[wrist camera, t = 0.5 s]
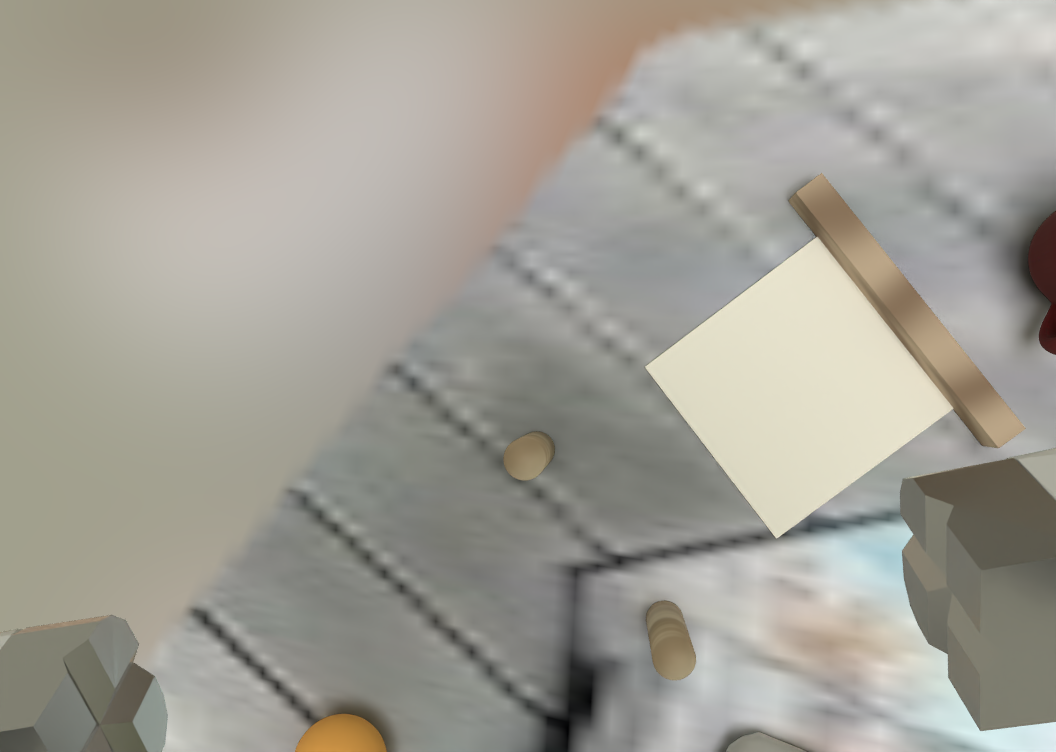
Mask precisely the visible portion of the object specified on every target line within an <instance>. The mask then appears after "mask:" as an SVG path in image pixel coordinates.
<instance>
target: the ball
mask: <svg viewBox="0 0 1056 752" xmlns="http://www.w3.org/2000/svg"><path fill="white" fill-rule="evenodd" d="M295 752H387V750H386V746H385V743H384V741H383V738H382V736H381V735H380V733H379V732H378V730H377V729H376V728H375V727H374V726H373V725H372V724H371V723H369V722H368V721H367V720H365V719H363V718H361V717H358V716H355V715H351V714H336V715H332V716H328V717H326V718H324V719H322V720H320V721H318V722H316V723H315V724H314V725H313V726H311V727H310V728H309V729H308V730H307V731H306V732H305V734H304V735H303V737H302V738H301V739H300V741H299V743H298V745H297V747H296V750H295Z"/></svg>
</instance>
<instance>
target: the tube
mask: <svg viewBox="0 0 1056 752" xmlns="http://www.w3.org/2000/svg"><path fill="white" fill-rule="evenodd" d="M726 752H807V751H805V750H802V749H800V748H797V747H795V746H792V745H790V744H787V743H785V742H782V741H780V740H778V739H775V738H773V737H770V736H768V735H765V734H763V733H760V732H757V733H753V734H749V735H745V736H742V737H740V738H739V739H737V740H736V741H734V742H733V743H732V744H730V745H729V746H728V749H727V751H726Z"/></svg>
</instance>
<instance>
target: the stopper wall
mask: <svg viewBox="0 0 1056 752" xmlns="http://www.w3.org/2000/svg"><path fill="white" fill-rule="evenodd" d="M789 203H790V204H791V205H792V206H793V208H794V209H795V210H796V212H797V213H798V214H799V215H800V217H801V218H802V219H803V220H804V222H805V223H806V224H807V225H808V227H809V228H810V229H811V230H812V232H813V233H814V234H815V235H816V237H818V238H819V239H820V240H821V242H822V243H823V244H824V245H825V247H826V248H827V249H828V250H829V252H830V253H831V254H832V256H833V257H834V258H835V259H836V261H837V262H838V263H839V264H840V266H841V267H842V268H843V269H844V271H845V272H846V273H847V274H848V276H849V277H850V278H851V279H852V281H853V282H854V283H855V285H856V286H857V287H858V288H859V290H860V291H861V292H862V293H863V295H864V296H865V297H866V298H867V300H868V301H869V302H870V303H871V305H872V306H873V307H874V308H875V310H876V311H877V312H878V314H879V315H880V316H881V317H882V319H883V320H884V321H885V322H886V324H887V325H888V326H889V327H890V329H891V330H892V331H893V332H894V334H895V335H896V336H897V337H898V339H899V340H900V341H901V343H902V344H903V345H904V346H905V348H906V349H907V350H908V351H909V353H910V354H911V355H912V356H913V358H914V359H915V360H916V361H917V363H918V364H919V365H920V367H921V368H922V369H923V370H924V372H925V373H926V374H927V375H928V377H929V378H930V379H931V380H932V382H933V383H934V384H935V385H936V387H937V388H938V389H939V390H940V392H941V393H942V394H943V396H944V397H945V398H946V399H947V401H948V402H949V403H950V404H951V406H952V407H953V408H954V409H953V410H954V411H955V412H956V413H957V415H958V416H959V417H960V418H961V420H962V421H963V422H964V423H965V425H966V426H967V427H968V428H969V430H970V431H971V432H972V433H973V435H974V436H975V437H976V439H977V440H978V441H979V442H980V444H981V445H982V446H987V447H994V448H1000V447H1001V446H1002V445H1004V444H1005V443H1007V442H1008V441H1009V440H1011V439H1012V438H1013V437H1015V436H1016V435H1018V434H1019V433H1020V432H1022V431H1023V430H1024V429H1026V428H1025V427H1024V426H1023V424H1022V423H1021V422H1020V421H1019V419H1018V418H1017V417H1016V416H1015V414H1014V413H1013V412H1012V411H1011V409H1010V408H1009V407H1008V406H1007V404H1006V403H1005V402H1004V401H1003V399H1002V398H1001V397H1000V396H999V394H998V393H997V392H996V391H995V389H994V388H993V387H992V386H991V384H990V383H989V382H988V381H987V379H986V378H985V377H984V376H983V374H982V373H981V372H980V371H979V369H978V368H977V367H976V366H975V364H974V363H973V362H972V361H971V359H970V358H969V357H968V356H967V354H966V353H965V352H964V351H963V349H962V348H961V347H960V345H959V344H958V343H957V342H956V340H955V339H954V338H953V337H952V335H951V334H950V333H949V332H948V330H947V329H946V328H945V327H944V325H943V324H942V323H941V322H940V320H939V319H938V318H937V317H936V315H935V314H934V313H933V312H932V310H931V309H930V308H929V307H928V305H927V304H926V303H925V302H924V300H923V299H922V298H921V297H920V295H919V294H918V293H917V292H916V290H915V289H914V288H913V287H912V285H911V284H910V283H909V282H908V280H907V279H906V278H905V277H904V275H903V274H902V273H901V272H900V270H899V269H898V268H897V267H896V265H895V264H894V263H893V262H892V260H891V259H890V258H889V257H888V255H887V254H886V253H885V252H884V250H883V249H882V248H881V247H880V245H879V244H878V243H877V241H876V240H875V239H874V238H873V236H872V235H871V234H870V233H869V231H868V230H867V229H866V228H865V226H864V225H863V224H862V223H861V221H860V220H859V219H858V218H857V216H856V215H855V214H854V213H853V211H852V210H851V209H850V208H849V206H848V205H847V204H846V203H845V201H844V200H843V199H842V198H841V196H840V195H839V194H838V193H837V191H836V190H835V189H834V188H833V186H832V185H831V184H830V183H829V181H828V180H827V179H826V178H825V176H824V175H823V174H822V173H821V174H820V175H818V176H817V177H816V178H814V179H813V180H812V181H811V182H809V183H808V184H807V185H805V186H804V187H803V188H801V189H800V190H799V191H797V192H796V193H795V194H794V195H793V196H792V197H791V198H790V199H789Z"/></svg>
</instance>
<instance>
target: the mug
mask: <svg viewBox="0 0 1056 752" xmlns="http://www.w3.org/2000/svg"><path fill="white" fill-rule="evenodd" d="M1028 264H1029V270H1030V274H1031V277H1032V279H1033V281H1034V283H1035V284H1036V286H1037V287H1038V289H1039V290H1040V291H1041V292H1042V293H1043V294H1044V295H1045V296H1046V297H1047V298H1048V299H1049V300H1050V302H1051V303H1052V304H1051V306H1050V308H1049V310H1048V312H1047V314H1046V316H1045V318H1044V320H1043V322H1042V325H1041V328H1040V331H1039V341H1040V344H1041V346H1042V347H1043V348H1044V349H1045V350H1046V351H1048V352H1050V353H1052V354H1055V355H1056V211H1055V212H1054V213H1052V214H1051V215H1050V216H1049V217H1048V218H1047V219H1046V220H1045V221H1044V222H1043V223H1042V224H1041V226H1040V227H1039V228H1038V230H1037V231H1036V233H1035V235H1034V237H1033V239H1032V241H1031V244H1030V248H1029V254H1028Z"/></svg>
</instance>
